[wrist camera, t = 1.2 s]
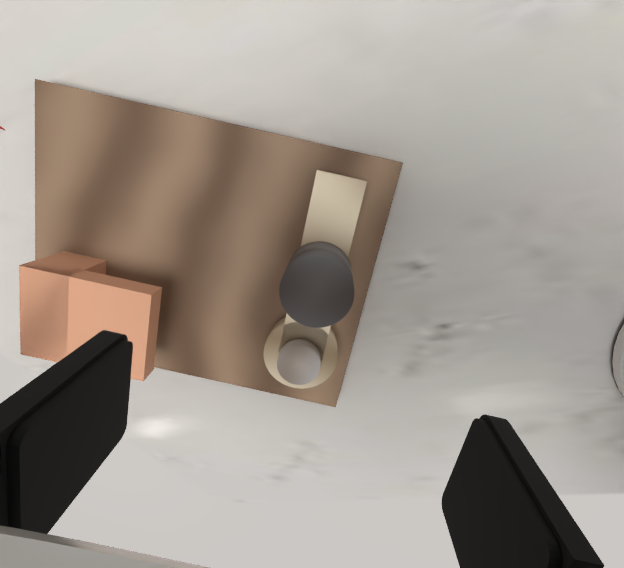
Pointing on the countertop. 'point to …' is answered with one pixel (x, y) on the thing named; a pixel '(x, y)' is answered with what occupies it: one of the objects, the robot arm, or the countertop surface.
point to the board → (200, 226)
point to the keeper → (85, 309)
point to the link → (319, 274)
